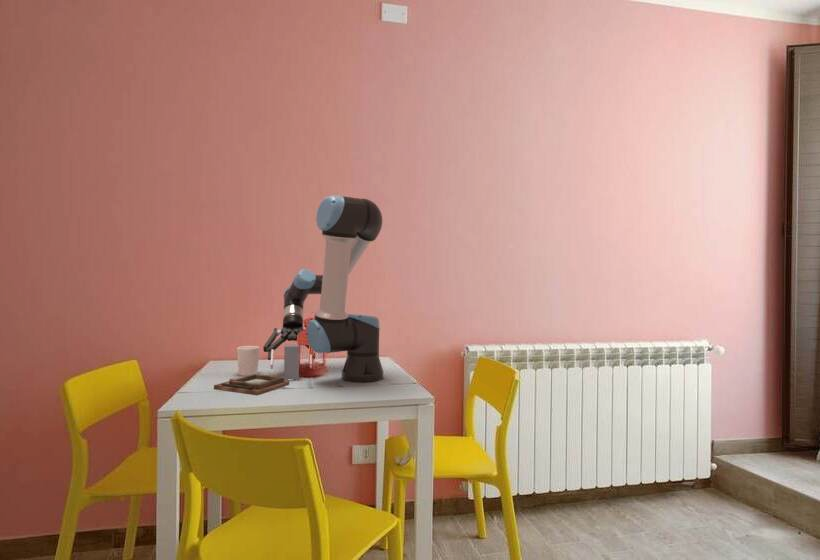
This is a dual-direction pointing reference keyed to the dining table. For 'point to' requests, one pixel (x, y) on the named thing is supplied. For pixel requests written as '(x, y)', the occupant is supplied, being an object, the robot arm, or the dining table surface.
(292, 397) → the dining table surface
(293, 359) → the block
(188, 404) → the dining table surface
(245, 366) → the white cup
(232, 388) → the brown wooden frame
